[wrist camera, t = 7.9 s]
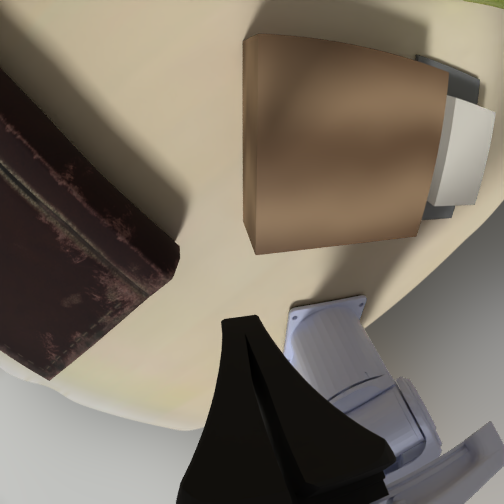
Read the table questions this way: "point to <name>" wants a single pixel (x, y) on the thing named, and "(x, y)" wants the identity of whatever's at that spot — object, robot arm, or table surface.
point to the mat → (461, 89)
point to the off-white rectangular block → (461, 153)
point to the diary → (65, 244)
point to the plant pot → (489, 2)
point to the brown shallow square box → (335, 142)
